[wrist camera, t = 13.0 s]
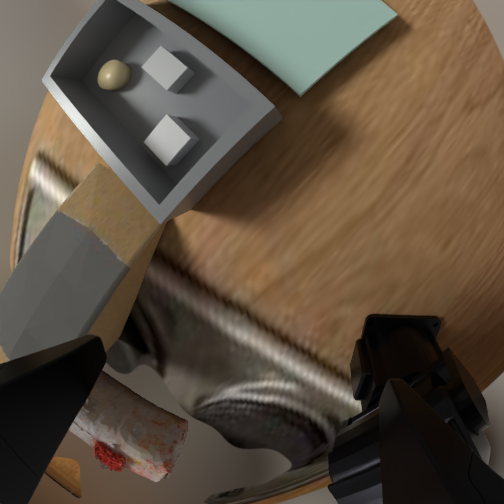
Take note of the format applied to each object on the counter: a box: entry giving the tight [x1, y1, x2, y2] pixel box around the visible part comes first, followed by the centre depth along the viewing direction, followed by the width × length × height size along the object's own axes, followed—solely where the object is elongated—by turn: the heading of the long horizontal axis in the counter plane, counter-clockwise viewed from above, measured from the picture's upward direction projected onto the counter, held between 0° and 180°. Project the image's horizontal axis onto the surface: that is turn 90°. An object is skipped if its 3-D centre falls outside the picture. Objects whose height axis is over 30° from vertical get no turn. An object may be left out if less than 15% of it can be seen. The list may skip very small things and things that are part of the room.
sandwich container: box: [0, 163, 167, 364], centre depth 16 cm, size 9×15×15 cm, turn 149°
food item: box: [69, 370, 188, 482], centre depth 25 cm, size 14×8×10 cm, turn 64°
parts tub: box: [42, 0, 283, 224], centre depth 16 cm, size 16×9×4 cm, turn 44°
